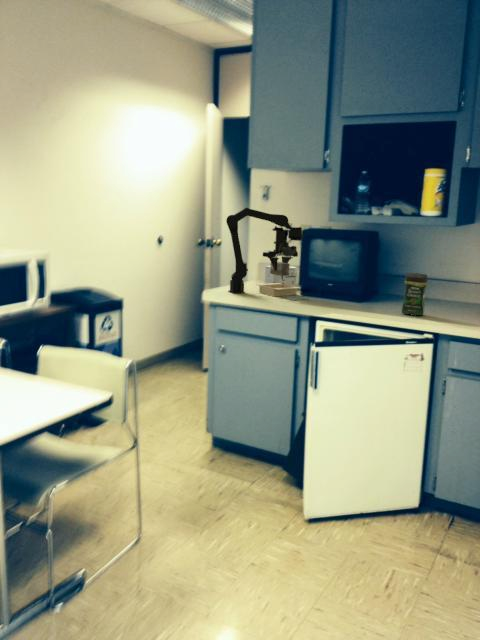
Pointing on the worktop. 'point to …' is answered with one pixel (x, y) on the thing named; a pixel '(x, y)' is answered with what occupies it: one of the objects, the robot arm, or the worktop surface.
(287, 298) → the mat
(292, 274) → the ink box
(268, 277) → the light bulb box
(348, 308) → the worktop surface
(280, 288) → the beige open box
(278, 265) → the gray and brown box
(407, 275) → the coffee jar
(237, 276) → the robot arm
